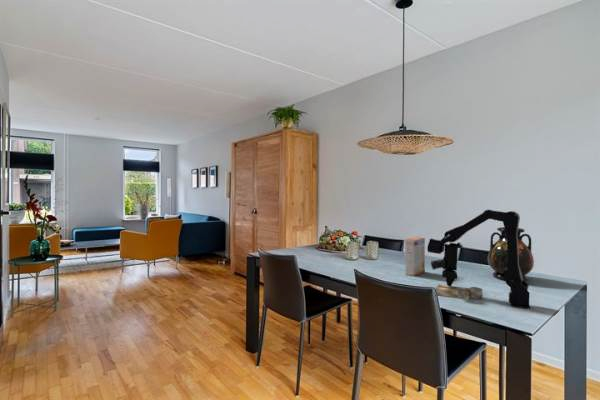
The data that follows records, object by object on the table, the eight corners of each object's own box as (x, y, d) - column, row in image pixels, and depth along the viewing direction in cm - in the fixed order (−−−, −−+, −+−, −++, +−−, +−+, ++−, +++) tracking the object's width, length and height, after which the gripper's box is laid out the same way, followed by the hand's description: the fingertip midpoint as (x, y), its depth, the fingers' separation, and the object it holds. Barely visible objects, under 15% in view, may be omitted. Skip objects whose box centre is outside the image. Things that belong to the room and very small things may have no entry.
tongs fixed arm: (468, 297, 146) (468, 289, 146) (468, 299, 143) (469, 291, 143) (435, 293, 152) (435, 285, 152) (435, 294, 149) (435, 287, 149)
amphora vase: (488, 280, 174) (489, 229, 173) (486, 271, 193) (487, 225, 192) (537, 286, 164) (538, 231, 163) (529, 276, 183) (530, 227, 182)
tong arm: (482, 296, 146) (482, 287, 146) (482, 299, 141) (482, 290, 141) (438, 290, 155) (438, 282, 155) (437, 293, 150) (437, 285, 150)
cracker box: (415, 270, 196) (415, 236, 195) (425, 272, 191) (425, 237, 191) (404, 274, 186) (404, 238, 185) (414, 276, 182) (414, 239, 181)
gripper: (433, 249, 164) (431, 279, 165) (431, 257, 147) (429, 290, 148) (457, 252, 159) (455, 283, 161) (458, 261, 143) (455, 295, 144)
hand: (448, 287), depth 153 cm, fingers closed
